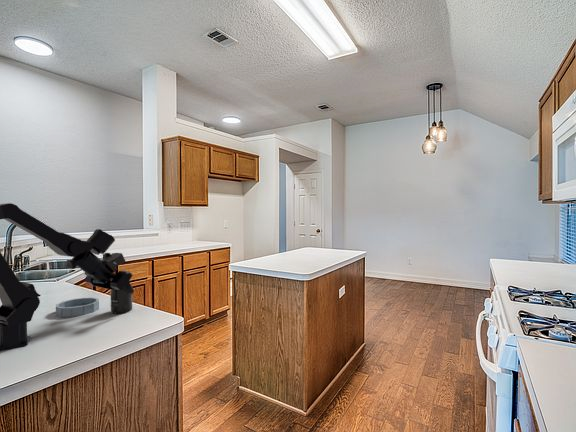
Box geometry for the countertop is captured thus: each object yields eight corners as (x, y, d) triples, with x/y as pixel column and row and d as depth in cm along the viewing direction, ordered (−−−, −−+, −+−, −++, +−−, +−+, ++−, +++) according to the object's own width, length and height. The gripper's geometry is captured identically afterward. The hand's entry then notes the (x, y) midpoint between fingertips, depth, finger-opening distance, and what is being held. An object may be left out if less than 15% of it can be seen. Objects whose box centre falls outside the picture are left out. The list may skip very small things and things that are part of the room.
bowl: (99, 312, 109) (99, 303, 109) (54, 319, 102) (54, 310, 102) (98, 303, 120) (98, 295, 120) (57, 309, 113) (57, 301, 113)
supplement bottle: (108, 315, 106) (107, 280, 106) (113, 309, 113) (113, 276, 113) (130, 313, 108) (129, 278, 108) (134, 307, 115) (133, 274, 115)
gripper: (126, 247, 102) (155, 274, 112) (93, 244, 111) (122, 270, 121) (103, 276, 95) (136, 302, 105) (69, 270, 104) (103, 295, 114)
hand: (124, 291), depth 112 cm, fingers open, 9 cm apart
